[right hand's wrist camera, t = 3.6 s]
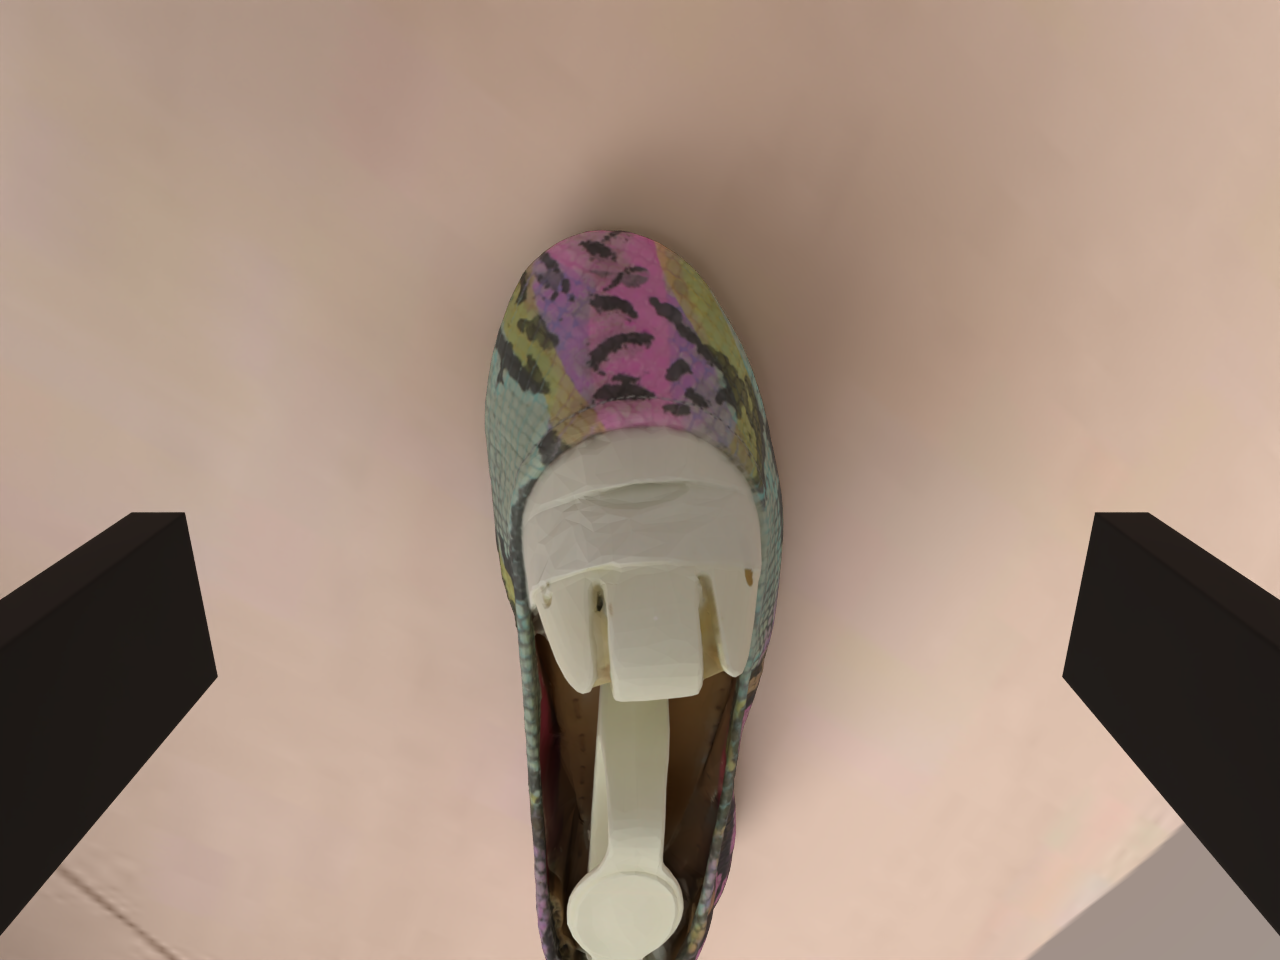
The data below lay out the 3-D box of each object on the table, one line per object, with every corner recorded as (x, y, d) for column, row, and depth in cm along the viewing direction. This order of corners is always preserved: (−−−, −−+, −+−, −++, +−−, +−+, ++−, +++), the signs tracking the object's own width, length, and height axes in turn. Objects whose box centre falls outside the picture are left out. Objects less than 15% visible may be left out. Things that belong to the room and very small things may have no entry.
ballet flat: (789, 225, 23) (871, 261, 15) (747, 891, 32) (785, 1138, 24) (486, 225, 23) (406, 261, 15) (527, 891, 32) (490, 1139, 24)
